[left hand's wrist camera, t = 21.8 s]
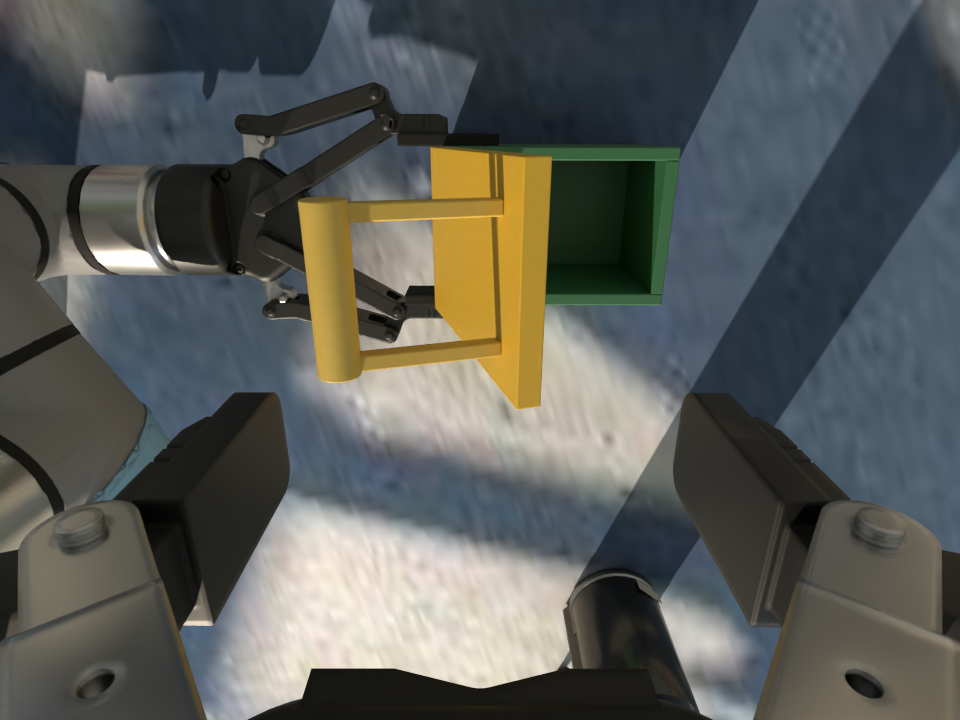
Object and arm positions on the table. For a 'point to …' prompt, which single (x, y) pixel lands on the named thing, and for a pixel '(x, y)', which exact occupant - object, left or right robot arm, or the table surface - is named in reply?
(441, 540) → the table surface
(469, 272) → the lid
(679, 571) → the table surface
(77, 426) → the right robot arm
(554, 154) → the chest
